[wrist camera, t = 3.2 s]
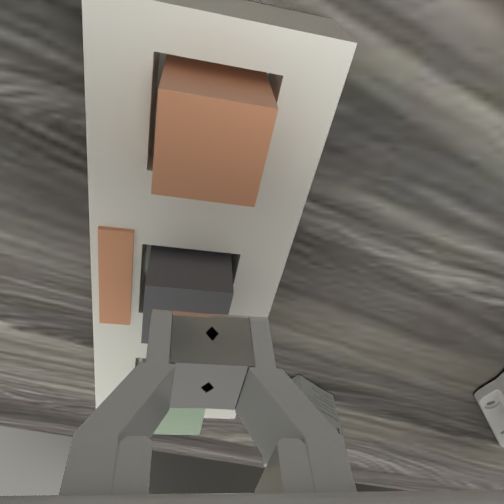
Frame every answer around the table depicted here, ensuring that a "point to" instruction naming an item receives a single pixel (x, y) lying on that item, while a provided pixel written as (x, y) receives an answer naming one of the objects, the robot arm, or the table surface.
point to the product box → (319, 403)
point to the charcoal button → (186, 283)
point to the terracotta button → (211, 131)
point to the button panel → (142, 153)
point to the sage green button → (181, 421)
